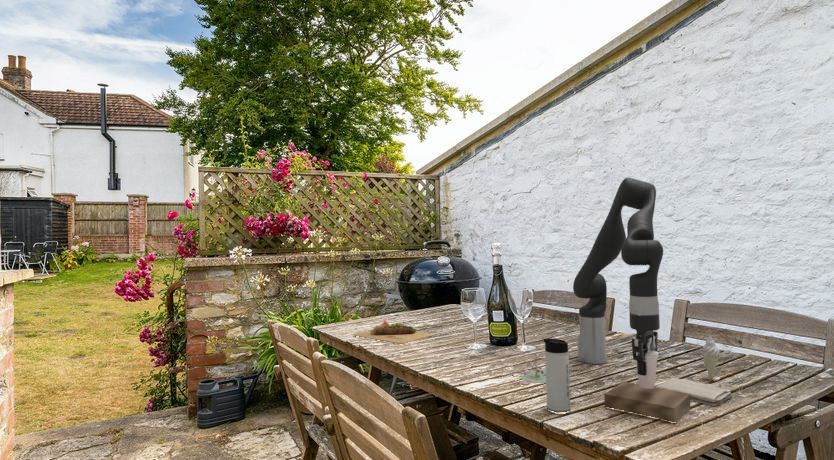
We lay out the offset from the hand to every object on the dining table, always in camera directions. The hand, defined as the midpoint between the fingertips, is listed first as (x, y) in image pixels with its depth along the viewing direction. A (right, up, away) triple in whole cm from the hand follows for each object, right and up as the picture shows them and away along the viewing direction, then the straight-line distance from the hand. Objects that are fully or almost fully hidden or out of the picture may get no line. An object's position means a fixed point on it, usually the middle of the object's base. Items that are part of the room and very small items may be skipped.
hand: (646, 371), depth 134 cm
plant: (-26, -12, +26) cm, 39 cm away
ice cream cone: (+32, -9, +23) cm, 41 cm away
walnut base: (0, -10, 0) cm, 10 cm away
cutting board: (-76, -15, +106) cm, 132 cm away
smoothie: (0, -4, 0) cm, 4 cm away
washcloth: (+18, -10, +10) cm, 23 cm away
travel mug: (-24, -11, 0) cm, 27 cm away
